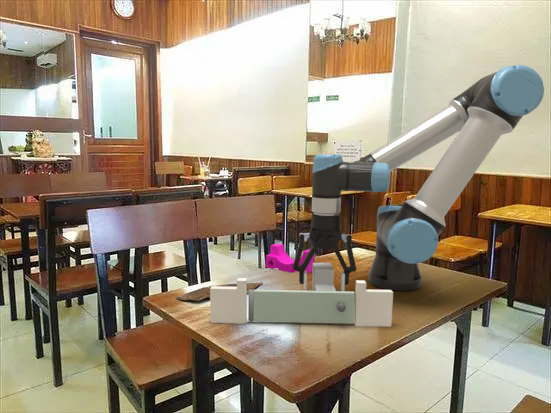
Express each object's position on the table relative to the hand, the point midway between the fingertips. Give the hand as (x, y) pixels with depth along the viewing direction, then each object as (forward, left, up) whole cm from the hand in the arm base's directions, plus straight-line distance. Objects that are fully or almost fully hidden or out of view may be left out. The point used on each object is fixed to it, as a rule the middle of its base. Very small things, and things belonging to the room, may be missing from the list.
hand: (323, 295), depth 112 cm
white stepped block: (0, +1, 0) cm, 1 cm away
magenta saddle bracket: (+9, -25, -1) cm, 26 cm away
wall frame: (+18, +18, 0) cm, 25 cm away
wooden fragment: (+24, +2, -2) cm, 25 cm away
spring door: (+18, +18, 0) cm, 25 cm away
